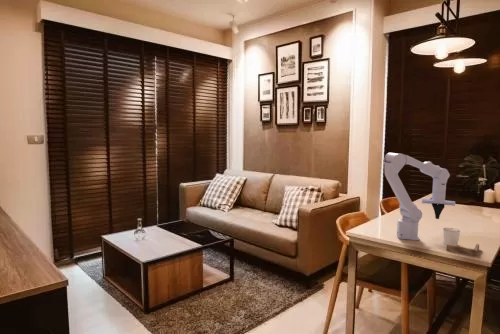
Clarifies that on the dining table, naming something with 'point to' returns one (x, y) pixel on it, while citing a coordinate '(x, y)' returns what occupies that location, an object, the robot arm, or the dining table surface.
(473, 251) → the corner stop
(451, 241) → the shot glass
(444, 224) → the dining table surface
